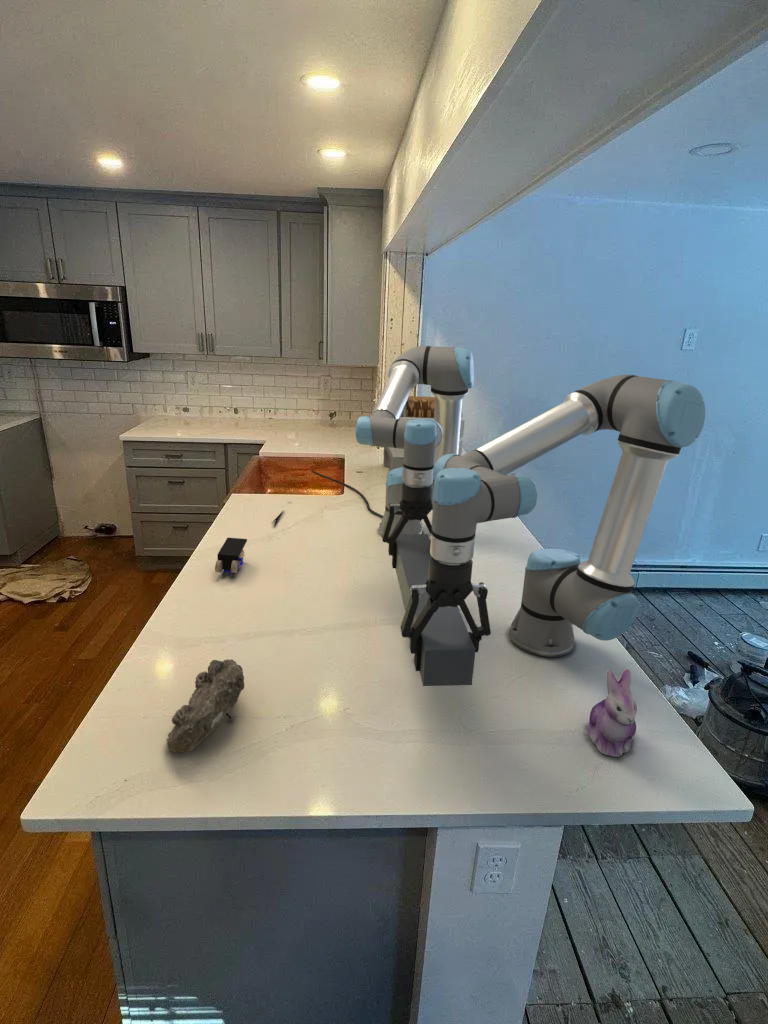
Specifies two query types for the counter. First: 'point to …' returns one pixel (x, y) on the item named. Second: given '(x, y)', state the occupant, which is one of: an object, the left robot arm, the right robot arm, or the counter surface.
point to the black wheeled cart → (230, 556)
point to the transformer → (411, 411)
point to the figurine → (614, 717)
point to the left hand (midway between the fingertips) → (412, 566)
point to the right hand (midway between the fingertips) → (442, 666)
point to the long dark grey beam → (434, 620)
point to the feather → (277, 518)
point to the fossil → (206, 705)
